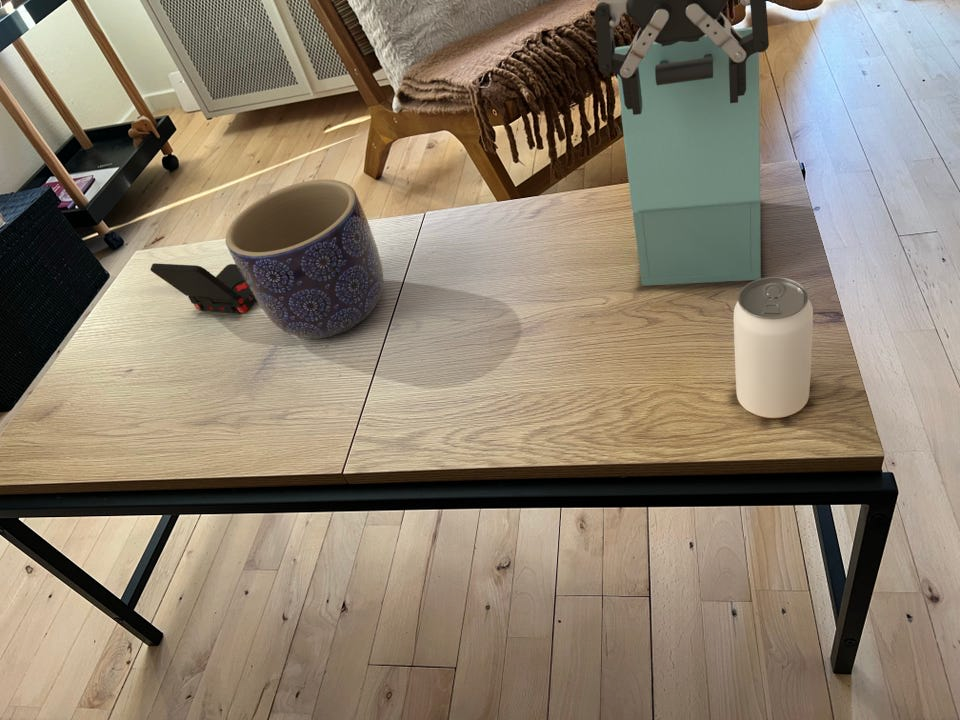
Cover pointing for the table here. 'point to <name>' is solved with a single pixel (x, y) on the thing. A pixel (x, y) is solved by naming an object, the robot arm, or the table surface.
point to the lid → (692, 128)
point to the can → (773, 346)
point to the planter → (309, 258)
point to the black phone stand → (209, 287)
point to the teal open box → (699, 243)
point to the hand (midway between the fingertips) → (685, 105)
